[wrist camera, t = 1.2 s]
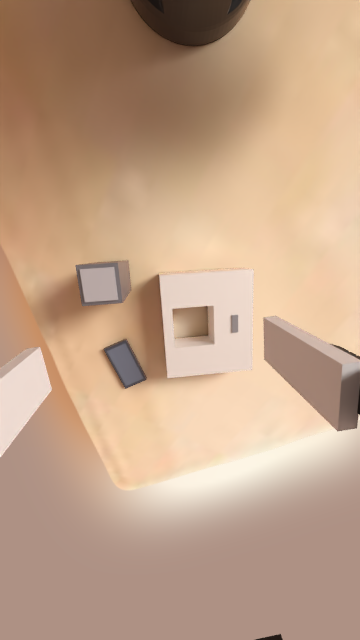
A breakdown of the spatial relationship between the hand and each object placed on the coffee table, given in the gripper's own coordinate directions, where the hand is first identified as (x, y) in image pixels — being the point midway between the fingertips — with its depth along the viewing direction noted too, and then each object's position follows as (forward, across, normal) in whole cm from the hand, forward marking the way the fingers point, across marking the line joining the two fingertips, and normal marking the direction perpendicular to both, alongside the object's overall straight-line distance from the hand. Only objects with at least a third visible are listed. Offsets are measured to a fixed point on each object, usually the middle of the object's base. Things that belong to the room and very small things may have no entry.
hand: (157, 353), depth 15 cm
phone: (+22, -6, -10) cm, 25 cm away
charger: (+22, -5, +3) cm, 22 cm away
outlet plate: (+22, +6, -4) cm, 23 cm away
